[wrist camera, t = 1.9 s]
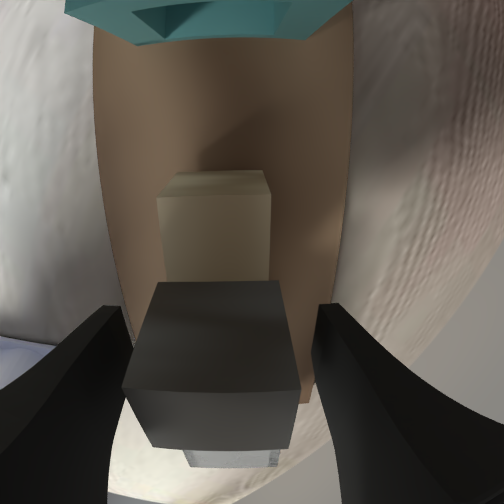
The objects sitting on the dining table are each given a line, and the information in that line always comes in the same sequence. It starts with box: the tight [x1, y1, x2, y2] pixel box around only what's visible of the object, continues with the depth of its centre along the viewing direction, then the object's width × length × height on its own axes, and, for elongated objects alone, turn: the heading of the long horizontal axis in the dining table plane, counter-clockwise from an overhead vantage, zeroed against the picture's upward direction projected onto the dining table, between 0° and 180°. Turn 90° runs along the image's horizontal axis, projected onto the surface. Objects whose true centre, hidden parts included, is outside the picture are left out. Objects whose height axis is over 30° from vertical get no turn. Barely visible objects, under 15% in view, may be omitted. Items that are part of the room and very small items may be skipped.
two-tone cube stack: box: [121, 170, 302, 451], centre depth 11 cm, size 4×14×7 cm, turn 0°
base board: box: [93, 1, 353, 404], centre depth 13 cm, size 10×23×1 cm, turn 0°
